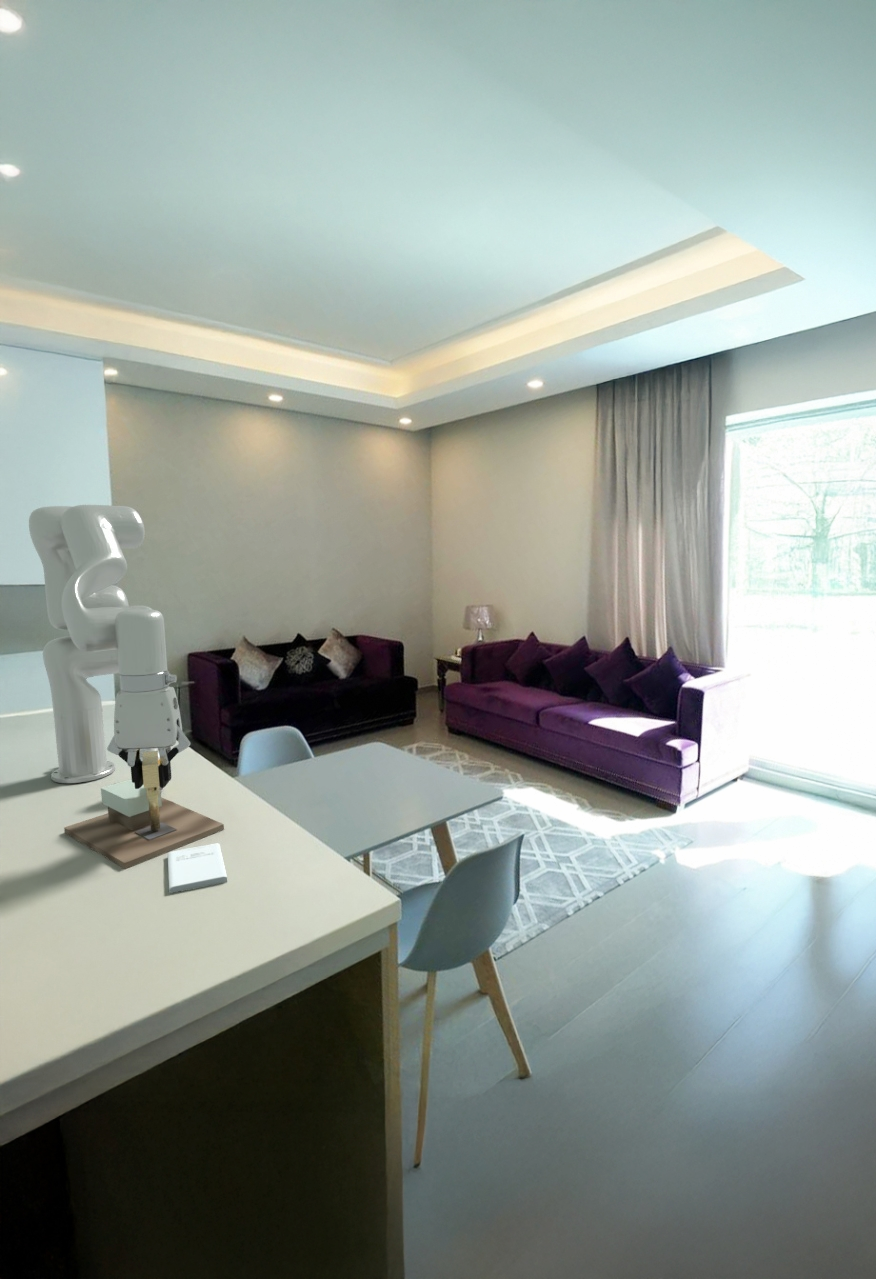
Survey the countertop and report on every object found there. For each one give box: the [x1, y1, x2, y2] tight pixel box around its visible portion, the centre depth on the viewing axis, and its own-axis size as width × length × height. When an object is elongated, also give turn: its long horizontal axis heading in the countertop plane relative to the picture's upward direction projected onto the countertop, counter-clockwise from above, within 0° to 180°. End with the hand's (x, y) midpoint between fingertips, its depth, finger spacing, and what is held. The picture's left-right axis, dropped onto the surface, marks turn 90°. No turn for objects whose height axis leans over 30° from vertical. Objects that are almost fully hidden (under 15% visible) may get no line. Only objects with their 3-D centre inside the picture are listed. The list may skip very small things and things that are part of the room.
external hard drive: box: [167, 842, 228, 894], centre depth 102 cm, size 2×8×12 cm
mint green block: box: [100, 778, 162, 817], centre depth 117 cm, size 10×6×3 cm, turn 52°
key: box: [142, 749, 160, 830], centre depth 113 cm, size 11×2×13 cm, turn 23°
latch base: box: [63, 796, 225, 870], centre depth 115 cm, size 22×18×4 cm
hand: (152, 784), depth 112 cm, fingers closed on key, 3 cm apart
